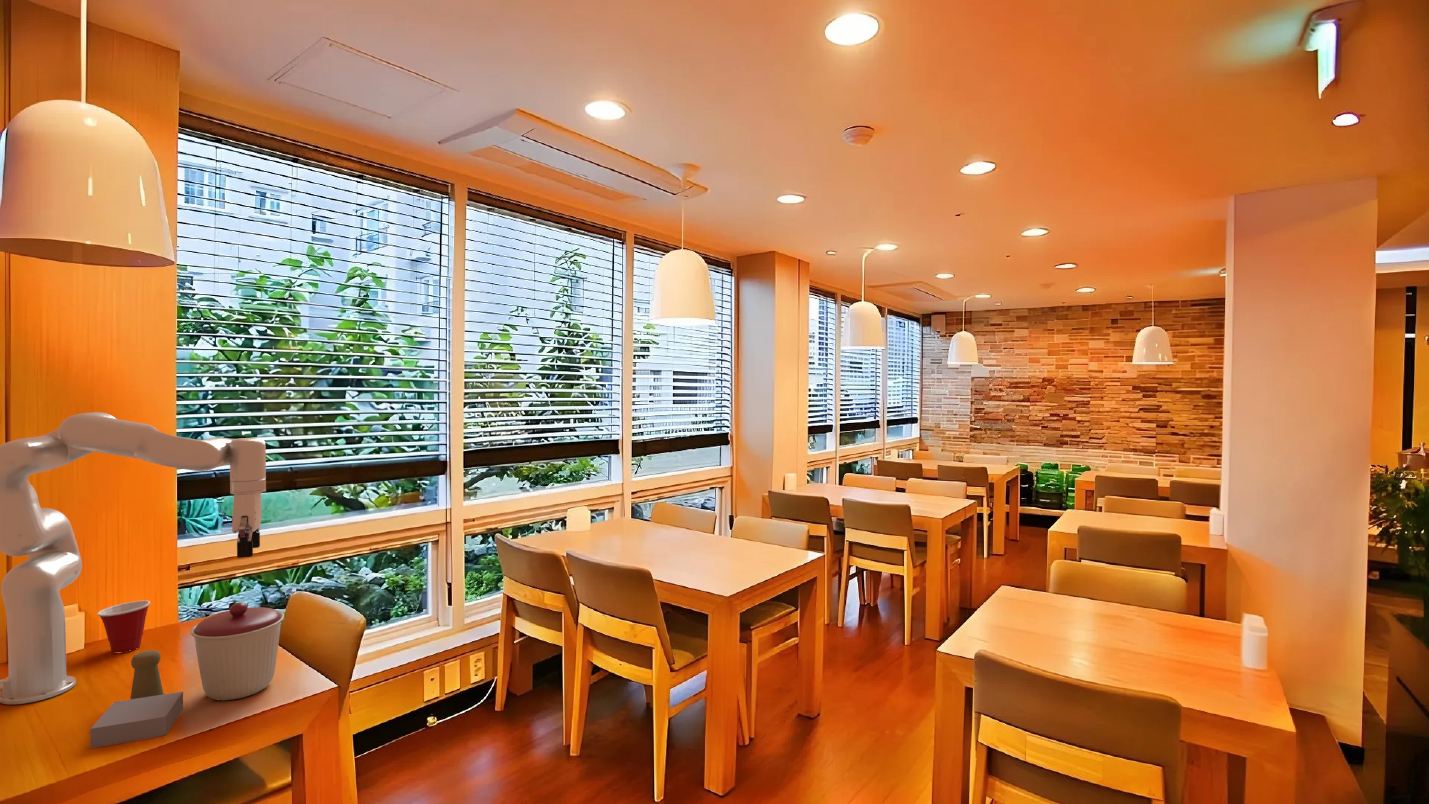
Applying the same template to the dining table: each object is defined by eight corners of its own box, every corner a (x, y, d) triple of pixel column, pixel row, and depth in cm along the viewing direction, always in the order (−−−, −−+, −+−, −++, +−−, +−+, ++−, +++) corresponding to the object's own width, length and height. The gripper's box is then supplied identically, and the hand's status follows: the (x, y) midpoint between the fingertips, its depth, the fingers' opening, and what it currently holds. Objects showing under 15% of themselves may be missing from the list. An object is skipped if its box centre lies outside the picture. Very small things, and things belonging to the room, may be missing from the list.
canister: (211, 717, 146) (210, 622, 145) (178, 695, 155) (176, 606, 154) (299, 685, 161) (298, 599, 160) (263, 667, 171) (262, 586, 170)
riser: (90, 748, 133) (90, 728, 133) (114, 720, 144) (114, 702, 144) (165, 735, 138) (165, 716, 138) (183, 708, 149) (183, 691, 149)
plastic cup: (119, 642, 185) (118, 599, 185) (161, 640, 186) (160, 598, 186) (86, 658, 175) (85, 613, 174) (131, 657, 176) (130, 612, 175)
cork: (170, 693, 156) (169, 647, 156) (146, 706, 150) (145, 658, 150) (147, 692, 157) (146, 646, 156) (122, 704, 151) (121, 657, 150)
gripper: (237, 482, 176) (238, 545, 177) (222, 492, 161) (223, 562, 161) (271, 480, 179) (271, 543, 180) (259, 490, 164) (260, 559, 164)
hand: (248, 552), depth 171 cm, fingers open, 9 cm apart
